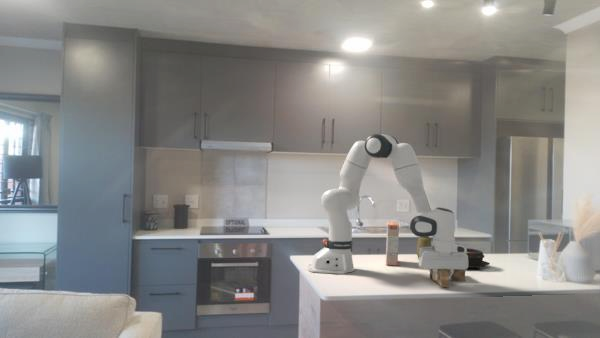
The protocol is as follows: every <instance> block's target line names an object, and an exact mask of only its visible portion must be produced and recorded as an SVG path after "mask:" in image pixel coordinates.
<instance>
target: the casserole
mask: <svg viewBox="0 0 600 338" xmlns="http://www.w3.org/2000/svg"><path fill="white" fill-rule="evenodd" d="M466 248H467V247H466ZM465 253H466V254H467V256H468V268H467V269H466V270H474V269H475V270H476V269H479V268H484V267H486V266H489V265H490V264H491V263H490V262H489V261H485V260H483V259H484V258H485V255H484V252H483V251H482V250H480V249H475V248H467V251H466V252H465Z"/></svg>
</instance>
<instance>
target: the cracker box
mask: <svg viewBox="0 0 600 338" xmlns="http://www.w3.org/2000/svg"><path fill="white" fill-rule="evenodd" d="M399 228H400V226H399V223H398V222H396V221H387V223H386V245H385V248H386V252H385V254H386V255H385V256H386V257H385V262H386V266H392V267H393V266H394V267H397V266H398V262H399V261H398V259H399V230H400V229H399Z"/></svg>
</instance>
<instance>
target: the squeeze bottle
mask: <svg viewBox="0 0 600 338" xmlns="http://www.w3.org/2000/svg"><path fill="white" fill-rule="evenodd" d="M431 240H432V239H431V238H430V236H428V237H418V239H417V248H416V255H417V259H418V260H419V257H420V255H419V250H420V248H422V247H423V246H426V247H428V246H432V241H431ZM422 249H423V248H422Z"/></svg>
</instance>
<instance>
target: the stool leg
mask: <svg viewBox="0 0 600 338" xmlns="http://www.w3.org/2000/svg"><path fill="white" fill-rule="evenodd" d="M437 274H438V275H440V280H436V279H435V274H434V272H433V269H432V279H433V281H435V282H436V283H437V284H438V285H440V287H442V288H449V282H450V281H449V272H447V271H446V270H444V269H438V272H437ZM432 279H431V280H432Z"/></svg>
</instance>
